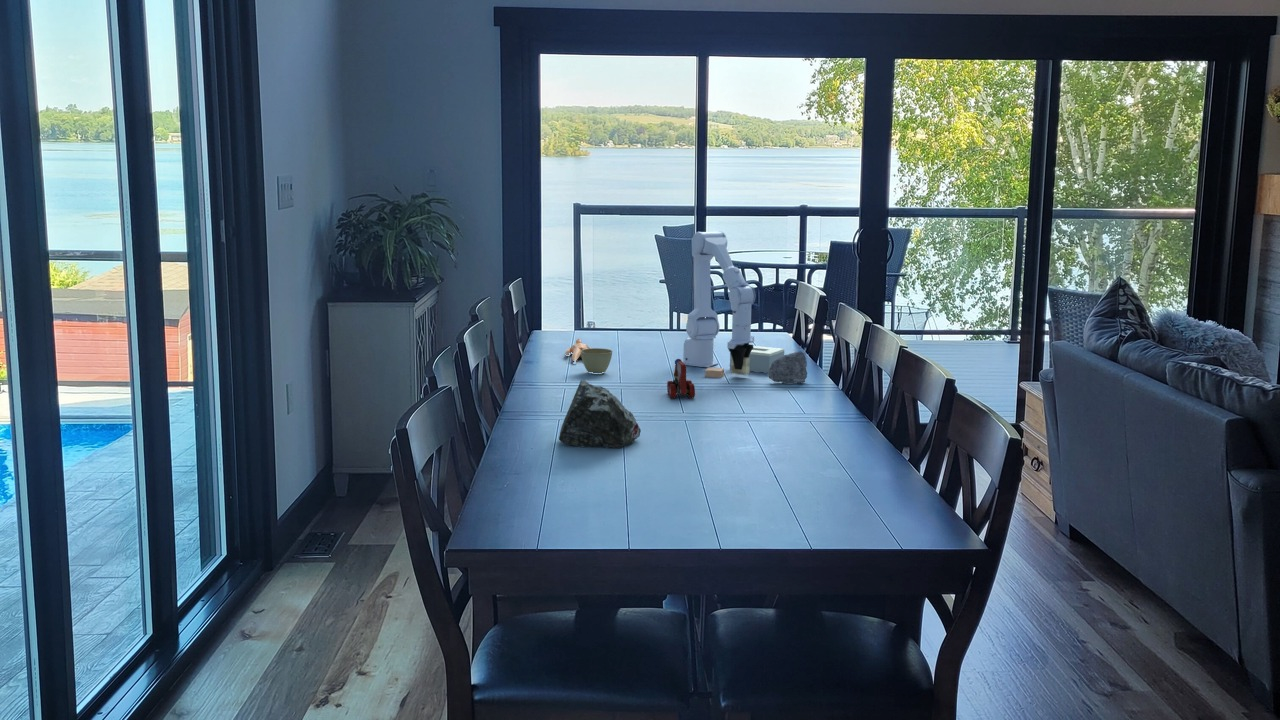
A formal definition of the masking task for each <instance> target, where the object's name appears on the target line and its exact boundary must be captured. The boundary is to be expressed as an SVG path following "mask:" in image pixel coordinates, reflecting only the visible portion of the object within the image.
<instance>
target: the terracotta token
mask: <svg viewBox="0 0 1280 720" xmlns="http://www.w3.org/2000/svg"><path fill="white" fill-rule="evenodd" d="M724 375H725V368H723V367H712V366H710V367H706V369H705V371H704V376H705V378H719V379H720V378H722V377H724Z"/></svg>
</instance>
